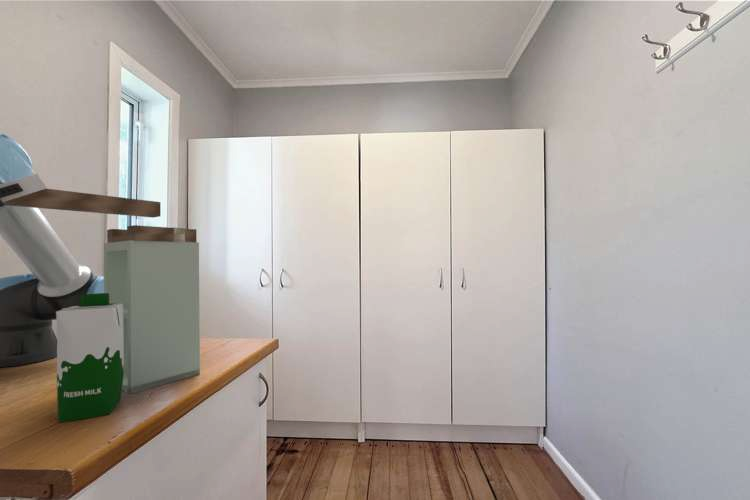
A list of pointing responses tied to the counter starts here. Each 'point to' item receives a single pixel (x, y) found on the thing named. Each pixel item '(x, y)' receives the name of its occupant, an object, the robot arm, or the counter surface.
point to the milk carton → (89, 358)
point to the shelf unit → (155, 309)
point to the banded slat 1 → (116, 235)
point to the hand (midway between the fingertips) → (37, 182)
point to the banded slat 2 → (160, 234)
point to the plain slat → (87, 203)
